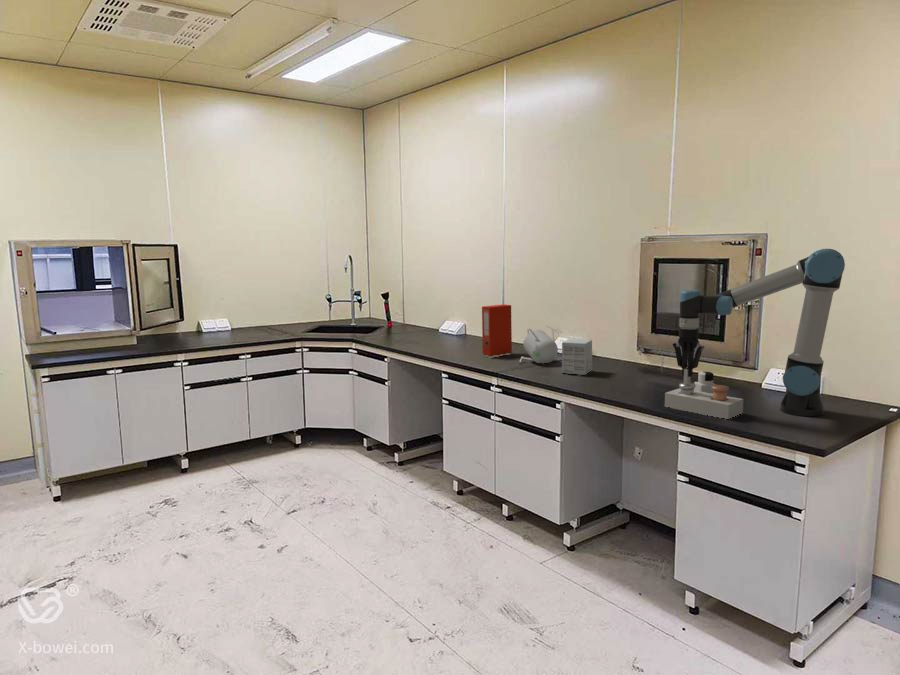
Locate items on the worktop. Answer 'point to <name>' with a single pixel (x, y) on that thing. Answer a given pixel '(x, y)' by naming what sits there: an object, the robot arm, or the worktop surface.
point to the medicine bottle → (704, 382)
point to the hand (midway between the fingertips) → (686, 383)
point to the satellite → (540, 346)
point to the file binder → (496, 329)
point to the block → (704, 404)
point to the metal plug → (687, 388)
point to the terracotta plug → (720, 392)
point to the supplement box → (577, 356)
